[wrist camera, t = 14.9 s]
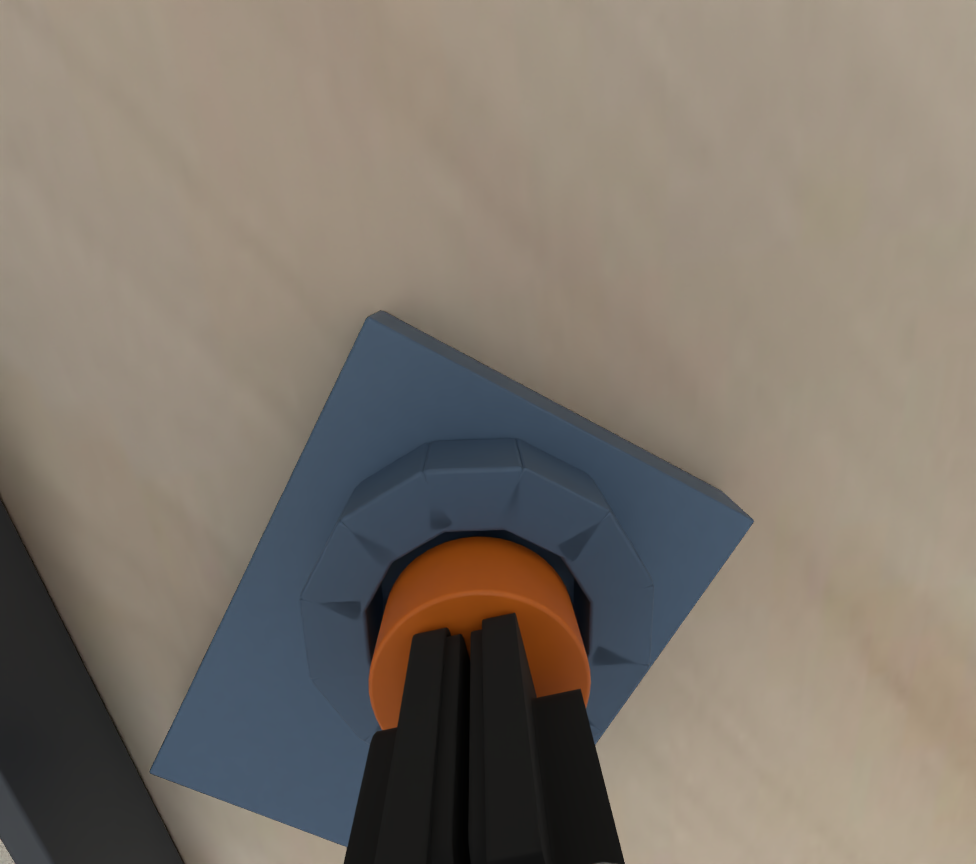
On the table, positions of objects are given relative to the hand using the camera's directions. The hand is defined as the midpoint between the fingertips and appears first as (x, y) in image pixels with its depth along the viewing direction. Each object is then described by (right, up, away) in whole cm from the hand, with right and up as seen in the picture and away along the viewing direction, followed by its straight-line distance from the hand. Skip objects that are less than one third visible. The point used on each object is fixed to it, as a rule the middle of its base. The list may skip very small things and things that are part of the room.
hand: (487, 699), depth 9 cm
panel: (-1, 0, +5) cm, 5 cm away
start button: (0, +1, +2) cm, 2 cm away
